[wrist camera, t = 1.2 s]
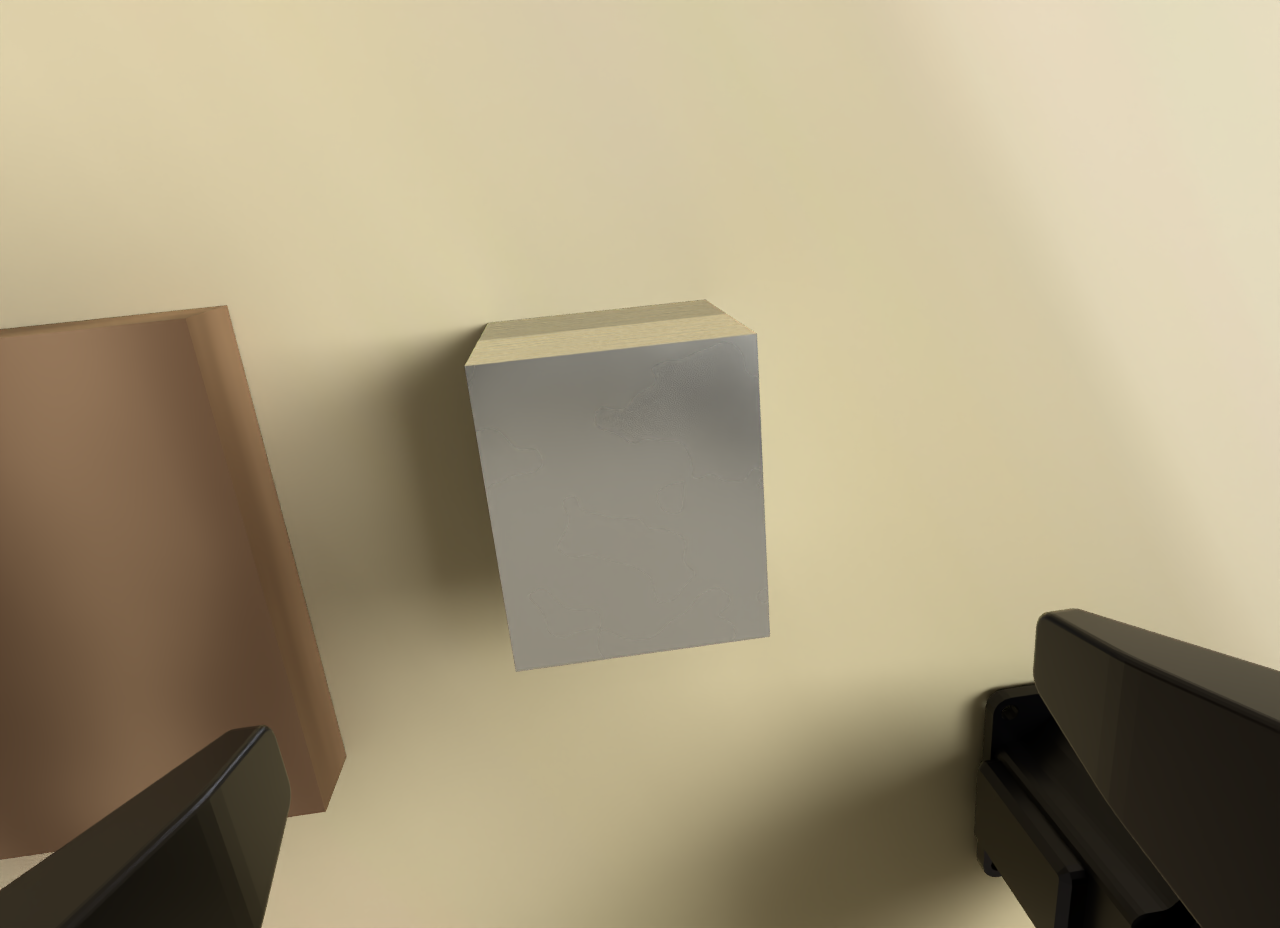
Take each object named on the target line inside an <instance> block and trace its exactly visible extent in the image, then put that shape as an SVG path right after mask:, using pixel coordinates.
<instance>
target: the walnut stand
mask: <svg viewBox="0 0 1280 928" xmlns="http://www.w3.org/2000/svg"><path fill="white" fill-rule="evenodd" d="M257 725H266V726H268V727H270V728H271V729H272V730H273V732H274V734H275V736H276V739H277V742H278V746H279V749H280V752H281V756H282V759H283V762H284V765H285V769H286V772H287V775H288V779H289V782H290V788H291V801H290V808H289V812H288V816H287V817H292V816H299V815H306V814H313V813H319V812H326V809H327V807H328V804H329V801H330V799H331V796H332V793H333V791H334V788H335V785H336V783H337V780H338V778H339V775H340V772H341V770H342V767H343V764H344V762H345V759H346V753H345V749H344V745H343V742H342V738H341V734H340V730H339V727H338V723H337V719H336V715H335V711H334V708H333V704H332V700H331V696H330V693H329V689H328V685H327V681H326V678H325V674H324V670H323V666H322V662H321V659H320V655H319V651H318V647H317V644H316V640H315V636H314V632H313V629H312V625H311V621H310V617H309V613H308V610H307V606H306V602H305V598H304V595H303V591H302V587H301V583H300V579H299V576H298V572H297V568H296V564H295V561H294V557H293V553H292V549H291V546H290V542H289V538H288V534H287V530H286V527H285V523H284V519H283V515H282V512H281V508H280V504H279V500H278V496H277V493H276V489H275V485H274V481H273V478H272V474H271V470H270V466H269V463H268V459H267V455H266V451H265V447H264V444H263V440H262V436H261V432H260V429H259V425H258V421H257V417H256V414H255V410H254V406H253V402H252V398H251V395H250V391H249V387H248V383H247V380H246V376H245V372H244V368H243V364H242V361H241V357H240V353H239V349H238V346H237V342H236V338H235V334H234V331H233V327H232V323H231V319H230V315H229V312H228V308H227V305H226V306H216V307H207V308H197V309H188V310H178V311H169V312H160V313H150V314H141V315H131V316H122V317H112V318H103V319H93V320H84V321H74V322H65V323H56V324H46V325H37V326H27V327H18V328H8V329H0V860H1V859H8V858H15V857H22V856H28V855H35V854H42V853H49V852H55V851H57V850H59V849H60V848H61V847H63V846H64V845H66V844H67V843H69V842H70V841H71V840H73V839H74V838H76V837H77V836H79V835H80V834H81V833H83V832H84V831H86V830H87V829H89V828H90V827H91V826H93V825H94V824H96V823H97V822H99V821H100V820H101V819H103V818H104V817H106V816H107V815H109V814H110V813H111V812H113V811H114V810H116V809H117V808H119V807H120V806H121V805H123V804H124V803H126V802H127V801H129V800H130V799H131V798H133V797H134V796H136V795H137V794H139V793H140V792H141V791H143V790H144V789H146V788H147V787H149V786H150V785H151V784H153V783H154V782H156V781H157V780H159V779H160V778H161V777H163V776H164V775H166V774H167V773H169V772H170V771H171V770H173V769H174V768H176V767H177V766H179V765H180V764H181V763H183V762H184V761H186V760H187V759H189V758H190V757H191V756H193V755H194V754H196V753H197V752H199V751H200V750H201V749H203V748H204V747H206V746H207V745H209V744H210V743H211V742H213V741H214V740H216V739H217V738H219V737H220V736H221V735H223V734H224V733H226V732H227V731H229V730H232V729H236V728H243V727H250V726H257Z"/></svg>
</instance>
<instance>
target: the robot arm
mask: <svg viewBox="0 0 1280 928" xmlns="http://www.w3.org/2000/svg"><path fill="white" fill-rule="evenodd" d="M1033 676H1034V682H1035V685H1029V686H1022V687H1015V688H1008V689H1003V690H999V691H997V692H995V693H994V694H992V695H991V696H990V698H989V699H988V700H987V704H986V710H985V726H984V743H983V760H982V762H981V764H980V766H979V768H978V774H977V792H976V809H975V826H974V833H975V836H976V838H977V839H978V843H977V860H978V862H979V864H980V865H981V867H982V869H983V870H984V872H985V873H986V874H987V875H989V876H992V877H1000V876H1002V877H1003V879H1004V880H1005V882H1006V883H1007V885H1008V886H1009V888H1010V889H1011V891H1012V892H1013V894H1014V895H1015V897H1016V898H1017V900H1018V901H1019V903H1020V904H1021V906H1022V907H1023V909H1024V910H1025V912H1026V914H1027V915H1028V917H1029V918H1030V920H1031V921H1032V923H1033V924H1034V926H1035V927H1036V928H1280V671H1277V670H1274V669H1271V668H1268V667H1264V666H1261V665H1258V664H1255V663H1252V662H1248V661H1245V660H1242V659H1239V658H1235V657H1232V656H1229V655H1226V654H1222V653H1219V652H1216V651H1213V650H1210V649H1206V648H1203V647H1200V646H1197V645H1193V644H1190V643H1187V642H1184V641H1181V640H1177V639H1174V638H1171V637H1168V636H1164V635H1161V634H1158V633H1155V632H1151V631H1148V630H1145V629H1142V628H1139V627H1135V626H1132V625H1129V624H1126V623H1122V622H1119V621H1116V620H1113V619H1110V618H1106V617H1103V616H1100V615H1097V614H1093V613H1090V612H1087V611H1084V610H1080V609H1065V610H1058V611H1051V612H1046V613H1044V614H1042V615H1041V616H1040V617H1039V619H1038V621H1037V626H1036V639H1035V652H1034V666H1033ZM1009 705H1010V707H1009V708H1008V709H1007V710H1005V711H1003V709H1004V708H1005V707H1006V706H1009ZM290 801H291V788H290V782H289V779H288V775H287V772H286V769H285V765H284V762H283V759H282V756H281V752H280V749H279V746H278V742H277V739H276V736H275V734H274V732H273V730H272V729H271V728H270V727H268V726H266V725H257V726H250V727H243V728H236V729H232V730H229V731H227V732H226V733H224V734H223V735H221V736H220V737H219V738H217V739H216V740H214V741H213V742H211V743H210V744H209V745H207V746H206V747H204V748H203V749H201V750H200V751H199V752H197V753H196V754H194V755H193V756H191V757H190V758H189V759H187V760H186V761H184V762H183V763H181V764H180V765H179V766H177V767H176V768H174V769H173V770H171V771H170V772H169V773H167V774H166V775H164V776H163V777H161V778H160V779H159V780H157V781H156V782H154V783H153V784H151V785H150V786H149V787H147V788H146V789H144V790H143V791H141V792H140V793H139V794H137V795H136V796H134V797H133V798H131V799H130V800H129V801H127V802H126V803H124V804H123V805H121V806H120V807H119V808H117V809H116V810H114V811H113V812H111V813H110V814H109V815H107V816H106V817H104V818H103V819H101V820H100V821H99V822H97V823H96V824H94V825H93V826H91V827H90V828H89V829H87V830H86V831H84V832H83V833H81V834H80V835H79V836H77V837H76V838H74V839H73V840H71V841H70V842H69V843H67V844H66V845H64V846H63V847H61V848H60V849H59V850H57V851H56V852H54V853H53V854H51V855H50V856H49V857H47V858H46V859H44V860H43V861H41V862H40V863H39V864H37V865H36V866H34V867H33V868H31V869H30V870H29V871H27V872H26V873H24V874H23V875H21V876H20V877H19V878H17V879H16V880H14V881H13V882H11V883H10V884H9V885H7V886H6V887H4V888H3V889H1V890H0V928H261V927H262V923H263V919H264V915H265V911H266V907H267V902H268V898H269V894H270V889H271V885H272V881H273V877H274V872H275V868H276V864H277V859H278V855H279V851H280V846H281V842H282V838H283V834H284V829H285V825H286V821H287V816H288V812H289V808H290Z"/></svg>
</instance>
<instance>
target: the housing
mask: <svg viewBox="0 0 1280 928" xmlns="http://www.w3.org/2000/svg"><path fill="white" fill-rule="evenodd" d="M465 372H466V378H467V384H468V390H469V396H470V402H471V408H472V414H473V419H474V425H475V431H476V437H477V443H478V449H479V455H480V461H481V467H482V473H483V479H484V485H485V491H486V497H487V502H488V508H489V514H490V520H491V526H492V532H493V538H494V544H495V550H496V556H497V562H498V568H499V574H500V580H501V586H502V591H503V597H504V603H505V609H506V615H507V621H508V627H509V633H510V639H511V645H512V651H513V657H514V663H515V669H516V672H517V671H524V670H531V669H539V668H546V667H553V666H560V665H568V664H575V663H582V662H589V661H596V660H604V659H611V658H618V657H625V656H633V655H640V654H647V653H654V652H662V651H669V650H676V649H683V648H691V647H698V646H705V645H712V644H720V643H727V642H734V641H741V640H748V639H756V638H763V637H770V626H769V603H768V579H767V556H766V533H765V510H764V487H763V464H762V440H761V417H760V394H759V371H758V348H757V333H755V332H754V331H752V330H751V329H749V328H748V327H746V326H745V325H743V324H741V323H740V322H738V321H737V320H735V319H734V318H732V317H731V316H729V315H728V314H726V313H725V312H723V311H722V310H720V309H719V308H717V307H716V306H714V305H713V304H711V303H710V302H708V301H707V300H697V301H687V302H678V303H669V304H659V305H650V306H641V307H631V308H622V309H613V310H604V311H594V312H585V313H576V314H566V315H557V316H548V317H538V318H529V319H520V320H510V321H501V322H492V323H488V324H487V326H486V328H485V329H484V331H483V333H482V335H481V337H480V339H479V340H478V342H477V344H476V346H475V348H474V350H473V351H472V353H471V355H470V357H469V359H468V361H467V363H466V364H465Z"/></svg>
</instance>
